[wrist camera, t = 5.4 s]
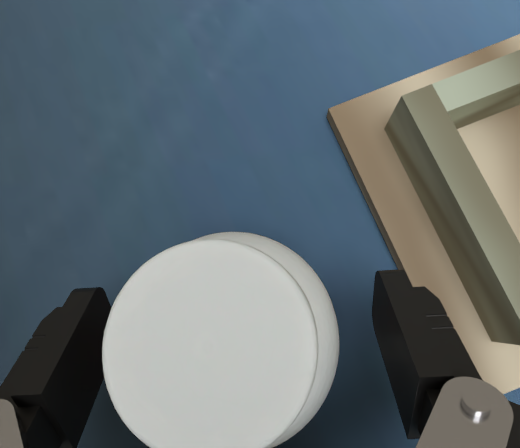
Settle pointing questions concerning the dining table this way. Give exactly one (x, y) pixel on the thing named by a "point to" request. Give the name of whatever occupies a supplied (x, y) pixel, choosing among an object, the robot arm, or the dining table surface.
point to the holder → (450, 192)
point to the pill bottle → (220, 345)
